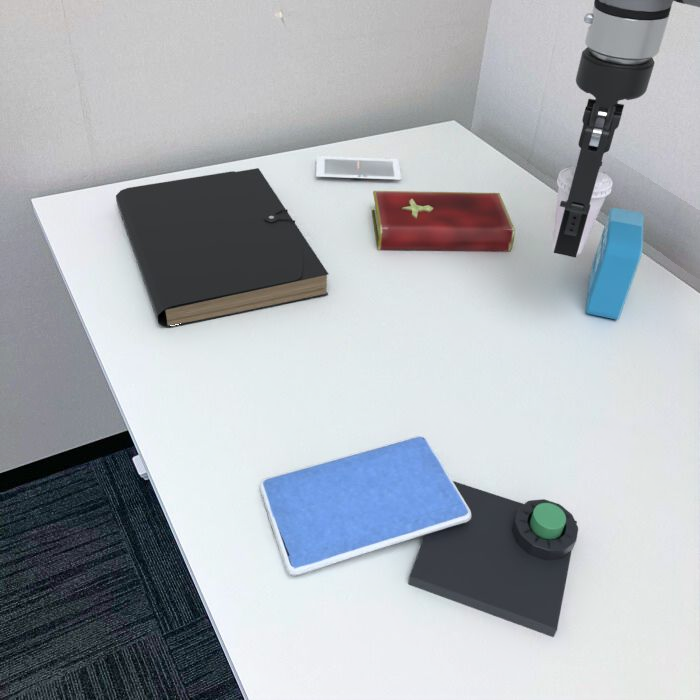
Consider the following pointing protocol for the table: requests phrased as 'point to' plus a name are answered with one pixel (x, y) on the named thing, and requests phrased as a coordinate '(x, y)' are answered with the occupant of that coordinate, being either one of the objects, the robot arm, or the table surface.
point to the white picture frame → (357, 167)
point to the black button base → (498, 562)
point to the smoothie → (597, 199)
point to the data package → (615, 263)
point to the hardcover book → (441, 221)
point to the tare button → (547, 521)
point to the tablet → (360, 504)
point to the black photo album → (217, 247)
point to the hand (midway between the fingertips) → (569, 239)
